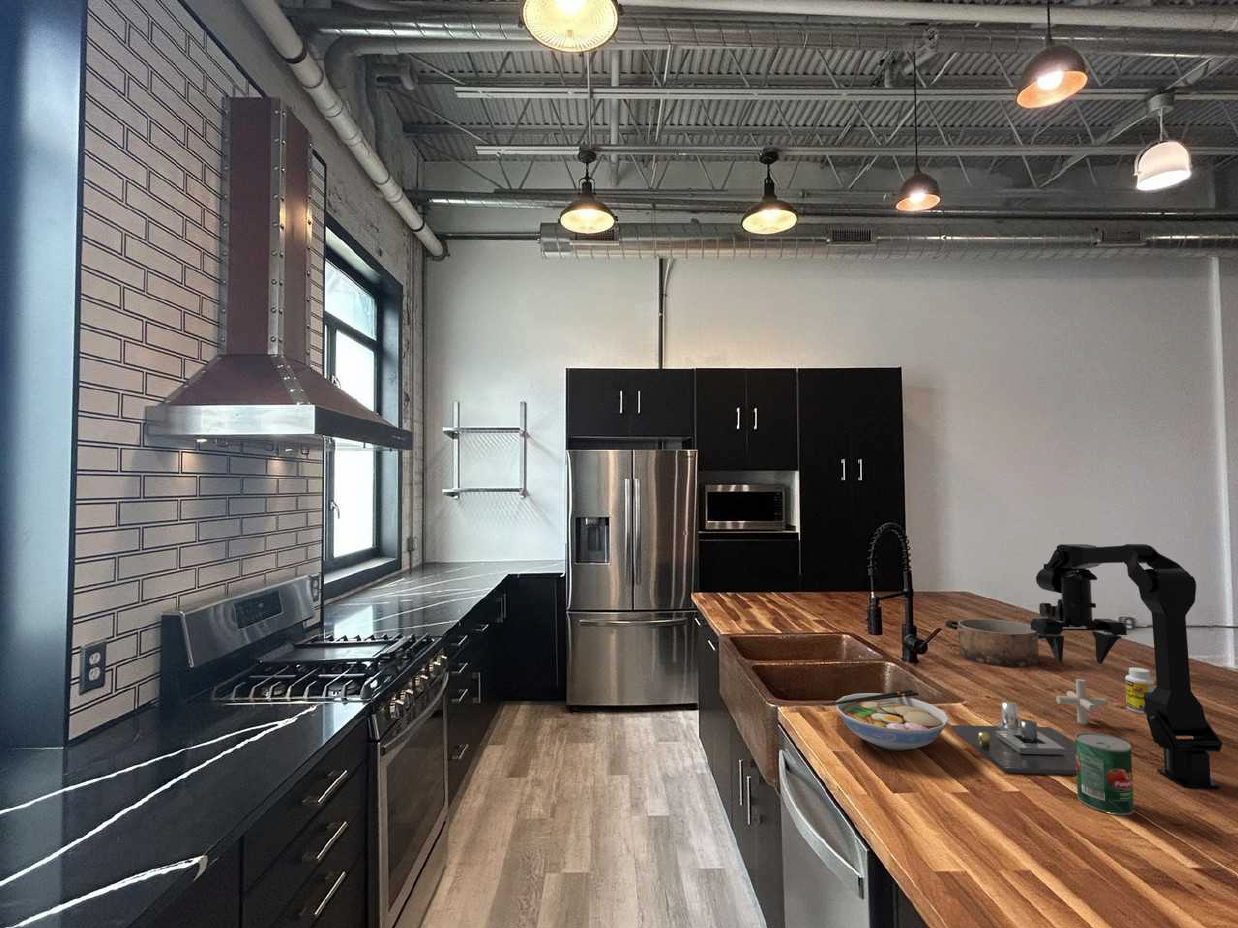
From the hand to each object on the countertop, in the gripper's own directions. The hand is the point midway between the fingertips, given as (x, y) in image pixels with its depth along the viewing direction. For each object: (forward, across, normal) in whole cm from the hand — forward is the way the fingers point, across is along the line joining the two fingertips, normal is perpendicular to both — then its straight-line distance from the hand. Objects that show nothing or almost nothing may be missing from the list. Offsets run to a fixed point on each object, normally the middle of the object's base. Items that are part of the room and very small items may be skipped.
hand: (1079, 663), depth 144 cm
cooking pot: (+14, -13, -58) cm, 61 cm away
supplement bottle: (+14, -21, -10) cm, 28 cm away
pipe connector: (+14, -1, -1) cm, 15 cm away
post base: (+14, +21, +15) cm, 30 cm away
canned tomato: (+15, +21, +37) cm, 46 cm away
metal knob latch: (+13, +21, +13) cm, 28 cm away
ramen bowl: (+15, +49, +13) cm, 53 cm away
